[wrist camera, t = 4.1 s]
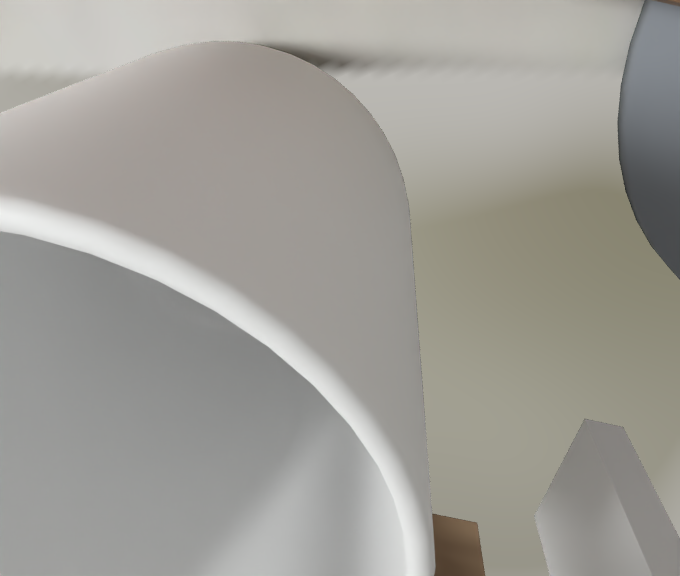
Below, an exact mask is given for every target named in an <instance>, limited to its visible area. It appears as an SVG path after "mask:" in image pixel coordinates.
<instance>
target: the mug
mask: <svg viewBox="0 0 680 576" xmlns="http://www.w3.org/2000/svg"><path fill="white" fill-rule="evenodd" d="M435 567H436V566H435V550H434V533H433V519H432V506H431V493H430V479H429V466H428V453H427V439H426V426H425V412H424V398H423V385H422V371H421V359H420V346H419V331H418V318H417V304H416V291H415V278H414V264H413V251H412V238H411V224H410V211H409V204H408V199H407V194H406V189H405V184H404V180H403V176H402V173H401V170H400V168H399V165H398V162H397V159H396V156H395V154H394V152H393V150H392V148H391V146H390V144H389V142H388V140H387V138H386V136H385V134H384V132H383V131H382V130H381V128H380V127H379V125H378V124H377V123H376V121H375V120H374V118H373V117H372V115H371V114H370V113H369V111H368V110H367V109H366V108H365V107H364V106H363V105H362V104H361V103H360V101H359V100H358V99H357V98H356V97H355V96H354V95H353V94H352V93H351V92H350V91H349V90H347V89H346V88H345V87H344V86H343V85H342V84H340V83H339V82H338V81H337V80H336V79H334V78H333V77H332V76H330V75H328V74H327V73H325V72H324V71H322V70H321V69H319V68H317V67H316V66H314V65H313V64H311V63H308V62H306V61H304V60H302V59H300V58H298V57H296V56H293V55H291V54H288V53H285V52H282V51H279V50H276V49H272V48H269V47H266V46H262V45H256V44H250V43H244V42H230V41H211V42H203V43H195V44H187V45H182V46H178V47H175V48H171V49H167V50H164V51H160V52H157V53H154V54H150V55H148V56H145V57H143V58H140V59H138V60H135V61H132V62H130V63H127V64H125V65H122V66H120V67H117V68H114V69H112V70H109V71H107V72H104V73H101V74H99V75H96V76H94V77H91V78H89V79H86V80H83V81H81V82H78V83H76V84H73V85H70V86H68V87H66V88H63V89H60V90H58V91H55V92H52V93H50V94H47V95H45V96H42V97H40V98H37V99H34V100H32V101H29V102H27V103H24V104H21V105H19V106H16V107H14V108H11V109H9V110H6V111H4V112H1V113H0V576H434V574H435Z"/></svg>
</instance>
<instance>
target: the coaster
mask: <svg viewBox="0 0 680 576" xmlns="http://www.w3.org/2000/svg"><path fill="white" fill-rule="evenodd" d="M618 142H619V143H618V144H619V160H620V165H621V170H622V175H623V180H624V185H625V190H626V193H627V196H628V199H629V201H630V204H631V207H632V210H633V212H634V215H635V218H636V220H637V222H638V224H639V225H640V227H641V229H642V231H643V233H644V234H645V236H646V238H647V240H648V241H649V243H650V245H651V246H652V248H653V249H654V250H655V251H656V252H657V254H658V255H659V256H660V257H661V258H662V259H663V261H664V262H665V263H666V265H667V266H668V267H669V268H670V269H671V270H672V271H673V273H674V274H675V275H676V276H677V277H678V278H679V279H680V6H675V5H671V4H667V3H662V2H658V1H652V0H645V2H644V5H643V8H642V11H641V14H640V17H639V19H638V22H637V25H636V28H635V31H634V34H633V37H632V40H631V42H630V46H629V51H628V55H627V60H626V65H625V69H624V74H623V78H622V83H621V92H620V102H619V113H618Z"/></svg>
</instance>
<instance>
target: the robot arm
mask: <svg viewBox="0 0 680 576" xmlns="http://www.w3.org/2000/svg"><path fill="white" fill-rule="evenodd" d="M534 517H535V521H536V525H537V529H538V532H539V536H540V540H541V544H542V548H543V551H544V555H545V559H546V563H547V567H548V571H549V574H550V576H680V538H679V536H678V534H677V532H676V530H675V528H674V526H673V524H672V522H671V520H670V518H669V516H668V514H667V512H666V510H665V508H664V506H663V504H662V502H661V501H660V498H659V496H658V495H657V493H656V491H655V489H654V487H653V485H652V483H651V481H650V479H649V477H648V475H647V473H646V471H645V469H644V467H643V465H642V463H641V461H640V460H639V457H638V455H637V453H636V451H635V449H634V447H633V445H632V443H631V441H630V439H629V438H628V436H627V434H626V432H625V430H624V428H623V427H621V426H616V425H611V424H607V423H602V422H597V421H593V420H588V419H584V422H583V423H582V425H581V427H580V429H579V431H578V433H577V435H576V437H575V439H574V441H573V442H572V444H571V446H570V448H569V450H568V452H567V454H566V456H565V458H564V460H563V462H562V463H561V466H560V467H559V469H558V471H557V473H556V475H555V477H554V479H553V481H552V483H551V485H550V487H549V488H548V490H547V493H546V494H545V496H544V498H543V500H542V502H541V504H540V506H539V508H538V510H537V511H536V513H535V515H534Z"/></svg>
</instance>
